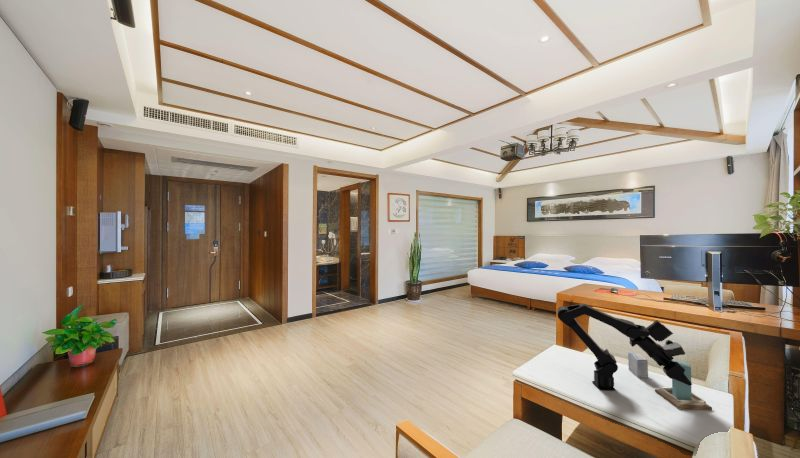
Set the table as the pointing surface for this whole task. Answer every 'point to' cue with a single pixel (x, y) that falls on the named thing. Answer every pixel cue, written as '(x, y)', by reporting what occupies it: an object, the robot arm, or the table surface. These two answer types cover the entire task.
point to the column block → (682, 384)
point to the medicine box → (638, 365)
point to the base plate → (683, 404)
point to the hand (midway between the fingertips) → (686, 379)
